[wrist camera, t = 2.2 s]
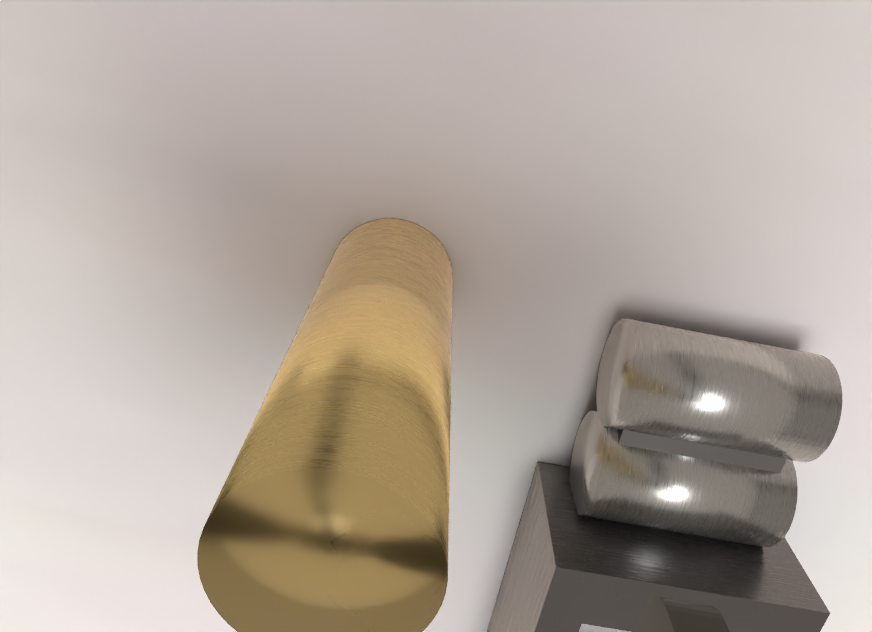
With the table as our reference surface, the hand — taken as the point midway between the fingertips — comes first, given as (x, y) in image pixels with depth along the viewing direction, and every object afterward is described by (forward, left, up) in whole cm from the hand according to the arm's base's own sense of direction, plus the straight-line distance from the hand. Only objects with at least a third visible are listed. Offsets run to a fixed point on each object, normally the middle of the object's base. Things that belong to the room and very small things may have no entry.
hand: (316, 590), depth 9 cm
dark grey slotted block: (+12, +8, -10) cm, 17 cm away
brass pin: (0, 0, -10) cm, 10 cm away
